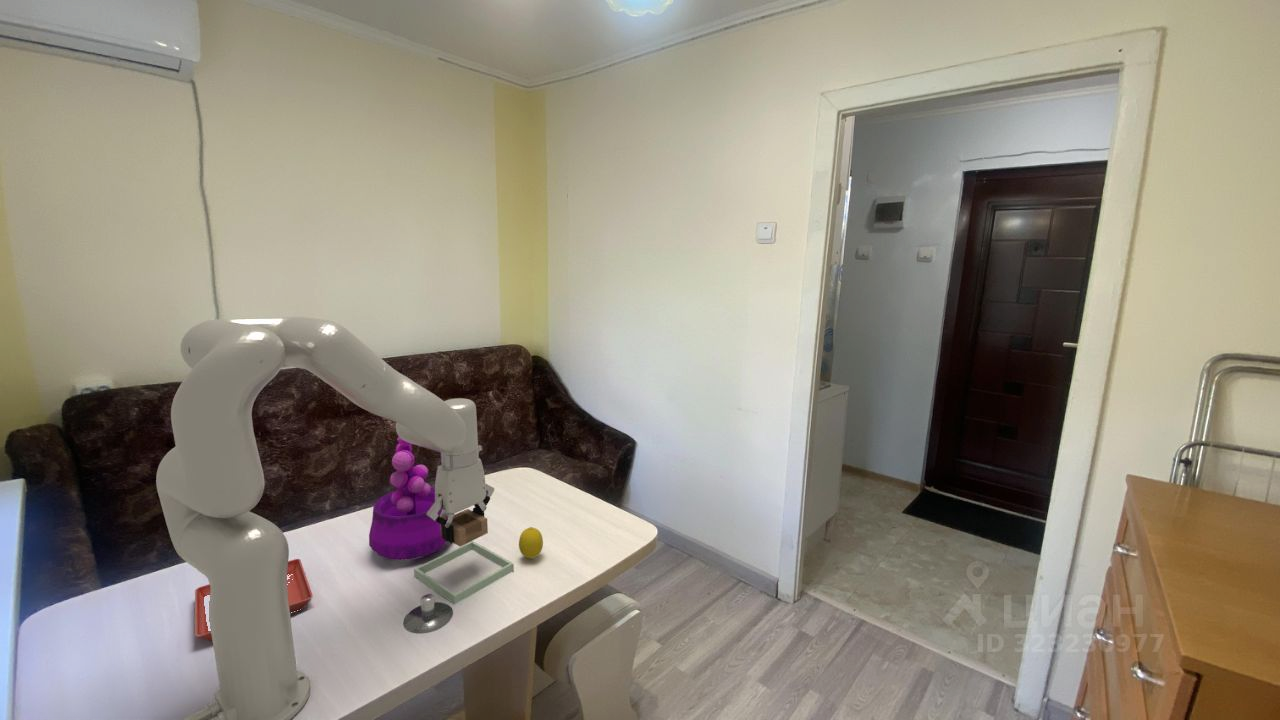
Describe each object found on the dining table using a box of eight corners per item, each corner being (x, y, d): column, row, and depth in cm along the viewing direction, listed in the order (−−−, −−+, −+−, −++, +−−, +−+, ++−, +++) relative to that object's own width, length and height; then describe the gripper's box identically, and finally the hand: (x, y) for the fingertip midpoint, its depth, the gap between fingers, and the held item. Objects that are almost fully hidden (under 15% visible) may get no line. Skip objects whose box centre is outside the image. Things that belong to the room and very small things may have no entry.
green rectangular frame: (455, 607, 106) (454, 596, 106) (414, 579, 115) (413, 568, 115) (513, 573, 118) (513, 563, 118) (472, 550, 127) (472, 540, 126)
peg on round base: (420, 644, 96) (418, 620, 95) (394, 623, 101) (392, 600, 100) (462, 618, 103) (461, 595, 102) (436, 599, 108) (435, 578, 108)
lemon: (537, 566, 121) (537, 534, 119) (515, 563, 122) (514, 531, 120) (546, 553, 126) (546, 523, 125) (525, 550, 127) (524, 520, 126)
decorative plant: (456, 562, 122) (450, 439, 116) (366, 578, 115) (356, 448, 109) (452, 524, 139) (447, 415, 133) (374, 536, 132) (365, 421, 126)
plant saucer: (196, 601, 107) (194, 587, 106) (301, 570, 118) (299, 556, 117) (197, 653, 93) (194, 637, 93) (315, 612, 105) (313, 597, 104)
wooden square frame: (440, 535, 114) (440, 520, 114) (468, 523, 120) (467, 508, 119) (460, 546, 110) (459, 531, 109) (487, 533, 116) (487, 518, 115)
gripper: (483, 441, 120) (486, 513, 124) (411, 465, 107) (417, 544, 110) (504, 449, 116) (507, 523, 120) (432, 475, 102) (438, 557, 106)
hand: (464, 533), depth 115 cm, fingers closed on wooden square frame, 7 cm apart
